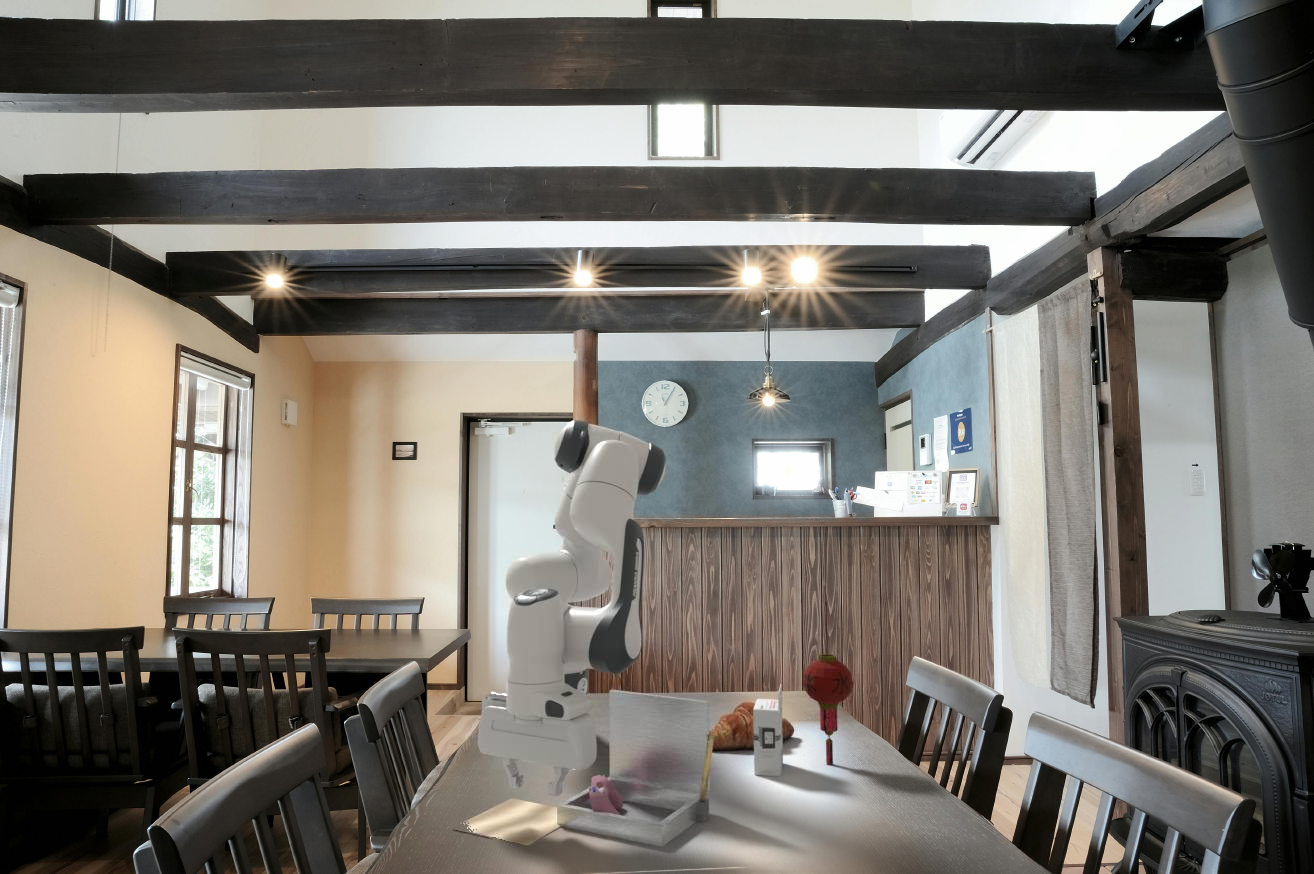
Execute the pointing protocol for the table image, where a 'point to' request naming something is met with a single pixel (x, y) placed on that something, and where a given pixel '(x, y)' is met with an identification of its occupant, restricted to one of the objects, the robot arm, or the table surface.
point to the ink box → (768, 736)
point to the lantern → (828, 690)
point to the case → (651, 767)
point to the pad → (516, 821)
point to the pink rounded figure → (604, 795)
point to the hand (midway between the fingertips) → (535, 790)
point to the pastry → (741, 729)
